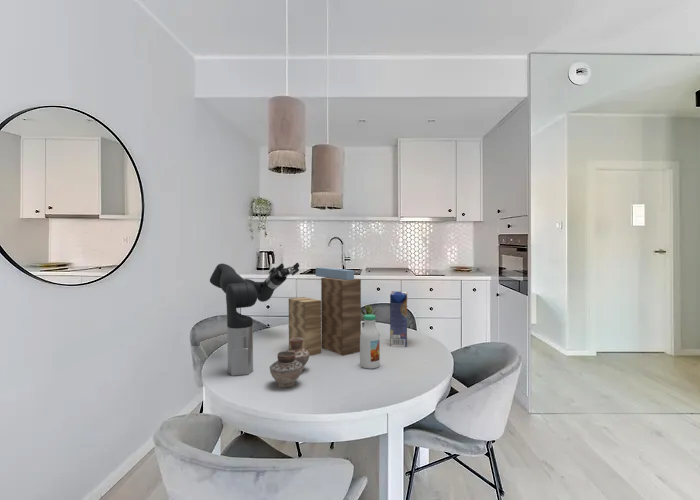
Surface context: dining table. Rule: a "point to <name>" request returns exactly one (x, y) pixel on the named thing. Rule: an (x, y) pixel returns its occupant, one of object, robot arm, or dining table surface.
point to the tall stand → (341, 315)
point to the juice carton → (398, 319)
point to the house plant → (367, 312)
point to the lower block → (306, 323)
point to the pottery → (290, 364)
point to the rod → (335, 273)
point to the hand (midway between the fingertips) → (290, 264)
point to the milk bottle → (369, 343)
